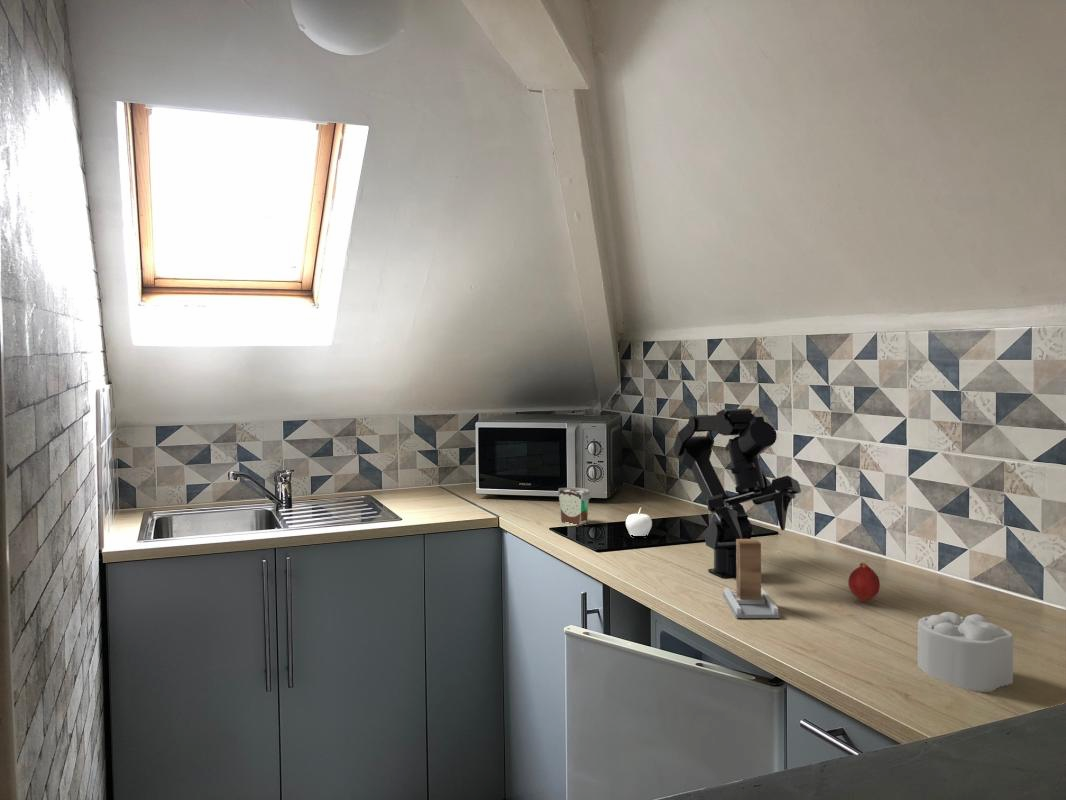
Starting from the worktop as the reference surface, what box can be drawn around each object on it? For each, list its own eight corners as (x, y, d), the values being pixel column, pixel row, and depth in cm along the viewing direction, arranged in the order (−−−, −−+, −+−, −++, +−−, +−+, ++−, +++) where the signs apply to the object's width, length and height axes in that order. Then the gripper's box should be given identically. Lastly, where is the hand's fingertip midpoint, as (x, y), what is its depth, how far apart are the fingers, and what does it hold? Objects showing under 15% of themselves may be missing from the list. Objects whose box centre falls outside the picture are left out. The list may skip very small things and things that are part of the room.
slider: (722, 596, 174) (722, 587, 174) (762, 596, 173) (762, 587, 173) (736, 618, 159) (736, 609, 159) (779, 618, 158) (779, 609, 158)
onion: (854, 596, 172) (854, 557, 172) (883, 601, 168) (883, 561, 168) (844, 603, 168) (844, 563, 167) (874, 608, 164) (874, 567, 164)
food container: (599, 525, 248) (599, 491, 248) (583, 527, 245) (582, 493, 244) (574, 518, 259) (573, 486, 258) (558, 521, 255) (557, 488, 255)
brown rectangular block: (732, 597, 170) (732, 538, 169) (759, 596, 170) (759, 538, 169) (737, 604, 165) (736, 544, 164) (765, 604, 165) (765, 543, 164)
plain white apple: (656, 538, 230) (656, 508, 229) (633, 540, 227) (632, 510, 227) (644, 533, 236) (644, 504, 236) (621, 535, 234) (621, 506, 233)
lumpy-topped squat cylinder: (979, 695, 122) (980, 636, 122) (900, 667, 133) (901, 613, 133) (1021, 680, 127) (1022, 623, 127) (942, 655, 139) (942, 602, 138)
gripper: (800, 459, 183) (818, 530, 176) (720, 482, 192) (734, 550, 186) (782, 448, 174) (800, 522, 168) (699, 472, 183) (713, 543, 177)
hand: (761, 535), depth 175 cm, fingers open, 9 cm apart
